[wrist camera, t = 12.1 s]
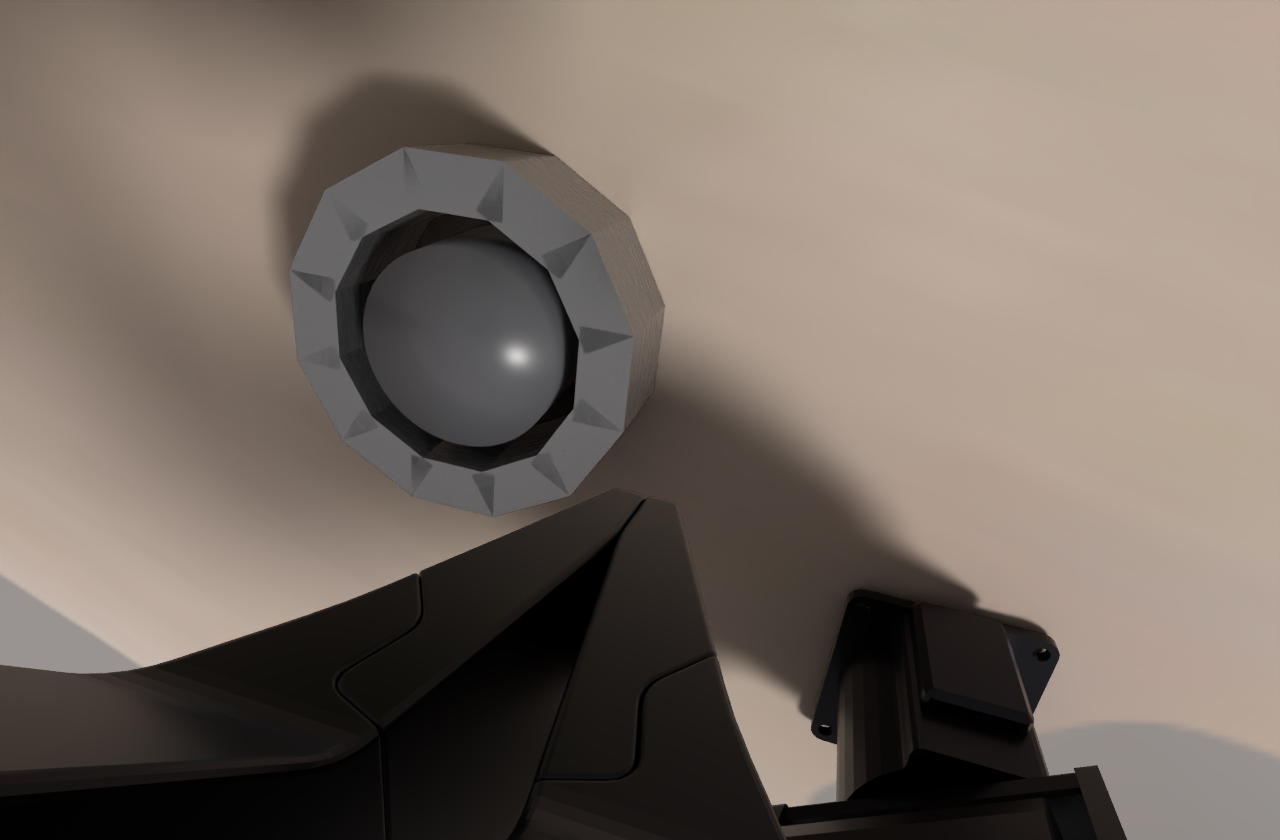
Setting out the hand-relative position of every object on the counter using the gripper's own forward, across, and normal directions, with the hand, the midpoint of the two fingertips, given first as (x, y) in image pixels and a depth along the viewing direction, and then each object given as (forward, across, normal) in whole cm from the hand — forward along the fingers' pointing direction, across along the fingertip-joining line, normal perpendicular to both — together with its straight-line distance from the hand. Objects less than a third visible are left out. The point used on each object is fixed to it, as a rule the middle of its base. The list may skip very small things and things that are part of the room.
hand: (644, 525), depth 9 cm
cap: (+13, +8, +2) cm, 15 cm away
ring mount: (+13, +8, +2) cm, 15 cm away
